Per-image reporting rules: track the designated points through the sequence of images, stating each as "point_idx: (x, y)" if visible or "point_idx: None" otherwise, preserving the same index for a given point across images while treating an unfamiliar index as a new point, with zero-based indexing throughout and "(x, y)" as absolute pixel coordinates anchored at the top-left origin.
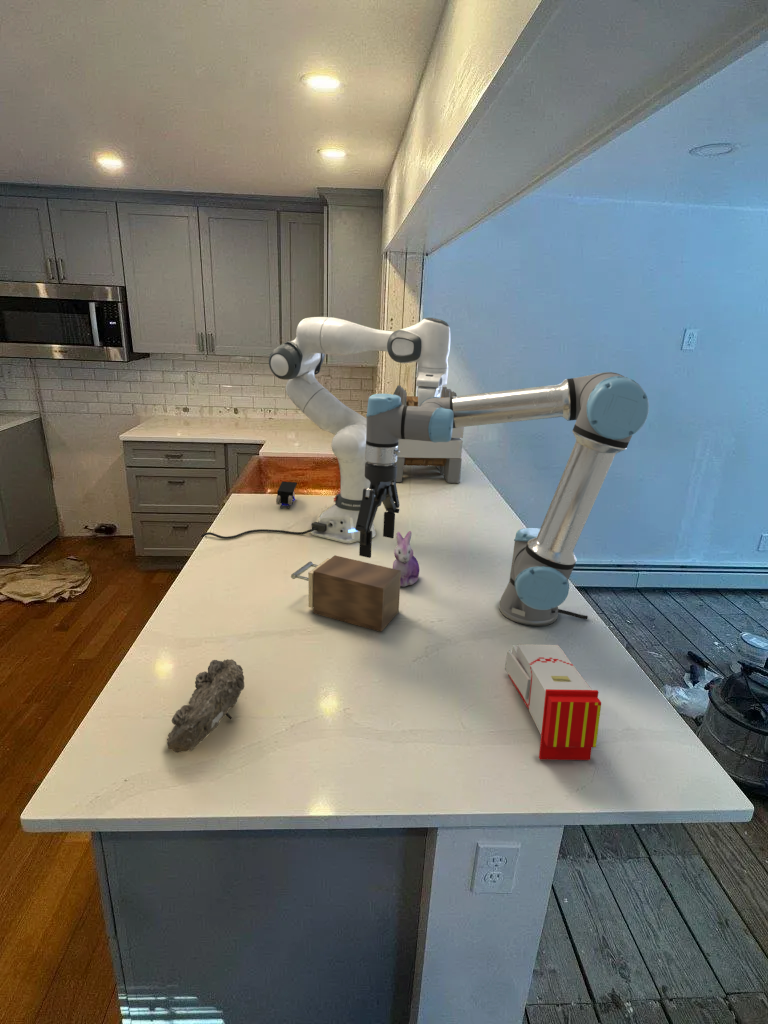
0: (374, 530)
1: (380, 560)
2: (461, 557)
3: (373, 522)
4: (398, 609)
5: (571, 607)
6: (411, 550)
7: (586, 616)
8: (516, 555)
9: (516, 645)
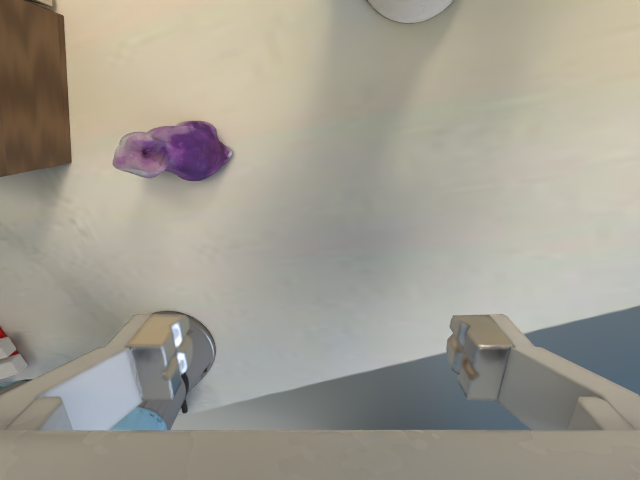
0: (416, 15)
1: (267, 75)
2: (339, 242)
3: (429, 2)
4: (66, 163)
5: (214, 395)
6: (140, 175)
7: (182, 411)
8: None
9: (2, 348)
